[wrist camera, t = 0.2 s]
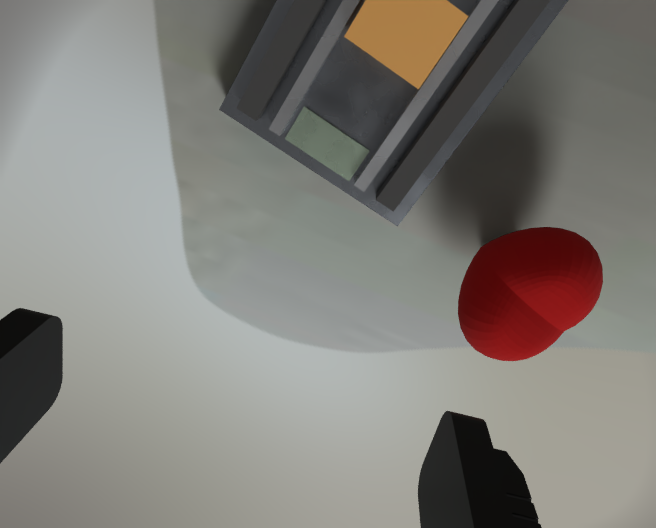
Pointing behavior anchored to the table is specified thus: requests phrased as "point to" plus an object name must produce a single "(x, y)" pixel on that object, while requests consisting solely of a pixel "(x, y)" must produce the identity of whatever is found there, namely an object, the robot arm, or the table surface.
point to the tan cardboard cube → (406, 34)
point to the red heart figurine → (528, 291)
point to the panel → (369, 98)
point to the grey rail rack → (445, 117)
